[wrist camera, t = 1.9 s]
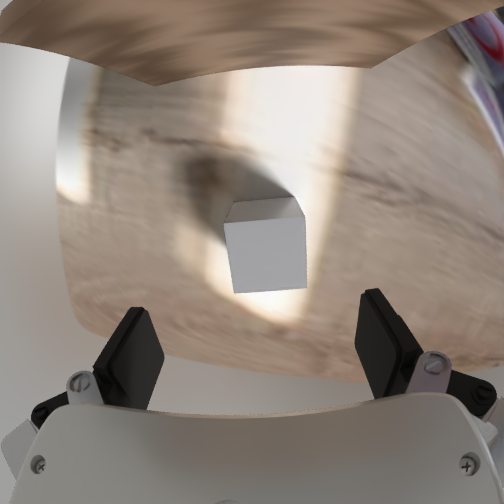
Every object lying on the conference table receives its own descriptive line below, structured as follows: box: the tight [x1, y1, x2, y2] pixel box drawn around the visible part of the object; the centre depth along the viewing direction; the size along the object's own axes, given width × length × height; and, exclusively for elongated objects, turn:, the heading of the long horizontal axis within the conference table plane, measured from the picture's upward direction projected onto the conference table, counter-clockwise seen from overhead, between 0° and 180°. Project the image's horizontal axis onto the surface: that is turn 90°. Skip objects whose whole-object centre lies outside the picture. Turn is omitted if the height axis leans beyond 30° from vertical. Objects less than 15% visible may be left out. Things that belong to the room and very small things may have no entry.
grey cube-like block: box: [223, 197, 307, 293], centre depth 20 cm, size 5×5×6 cm
